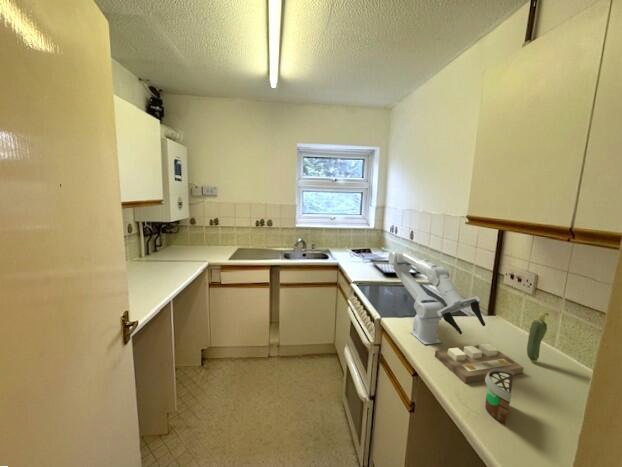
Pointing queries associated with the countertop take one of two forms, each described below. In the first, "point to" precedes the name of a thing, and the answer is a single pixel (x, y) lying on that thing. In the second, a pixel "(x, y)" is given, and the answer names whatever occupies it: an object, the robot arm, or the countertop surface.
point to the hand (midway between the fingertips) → (472, 329)
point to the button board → (477, 365)
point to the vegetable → (536, 337)
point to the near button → (456, 354)
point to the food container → (498, 393)
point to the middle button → (472, 352)
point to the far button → (488, 350)
